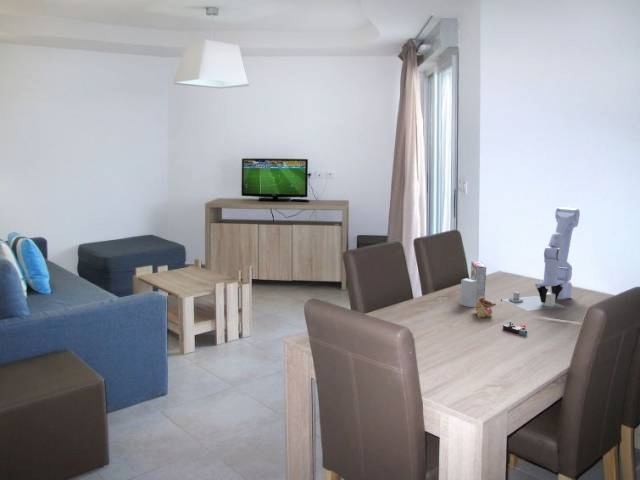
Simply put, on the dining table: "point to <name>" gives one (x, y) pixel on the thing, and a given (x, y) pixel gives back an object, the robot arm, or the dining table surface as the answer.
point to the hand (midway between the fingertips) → (548, 301)
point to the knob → (549, 299)
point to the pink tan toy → (483, 307)
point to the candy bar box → (479, 277)
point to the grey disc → (516, 298)
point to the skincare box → (468, 292)
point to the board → (532, 303)
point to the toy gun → (515, 329)
